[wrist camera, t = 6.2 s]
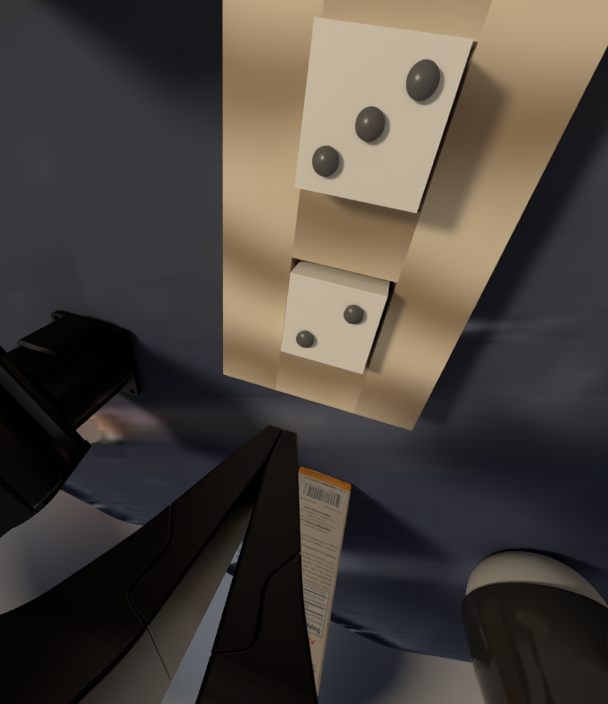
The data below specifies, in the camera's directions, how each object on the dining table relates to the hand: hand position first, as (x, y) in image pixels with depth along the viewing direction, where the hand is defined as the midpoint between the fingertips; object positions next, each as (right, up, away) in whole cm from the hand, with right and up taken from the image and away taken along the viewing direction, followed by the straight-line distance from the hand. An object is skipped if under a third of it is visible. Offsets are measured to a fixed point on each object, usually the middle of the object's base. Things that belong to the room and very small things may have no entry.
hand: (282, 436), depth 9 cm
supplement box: (+2, -11, +21) cm, 23 cm away
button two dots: (+3, +5, +9) cm, 10 cm away
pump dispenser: (+19, -16, +18) cm, 31 cm away
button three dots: (+3, +11, +3) cm, 12 cm away
